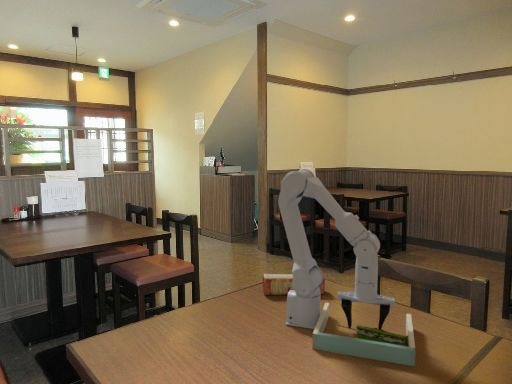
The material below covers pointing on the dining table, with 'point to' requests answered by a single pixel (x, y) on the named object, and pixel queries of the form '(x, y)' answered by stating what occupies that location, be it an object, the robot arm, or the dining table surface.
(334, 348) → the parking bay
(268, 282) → the snack package
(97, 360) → the dining table surface
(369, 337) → the toy tank
